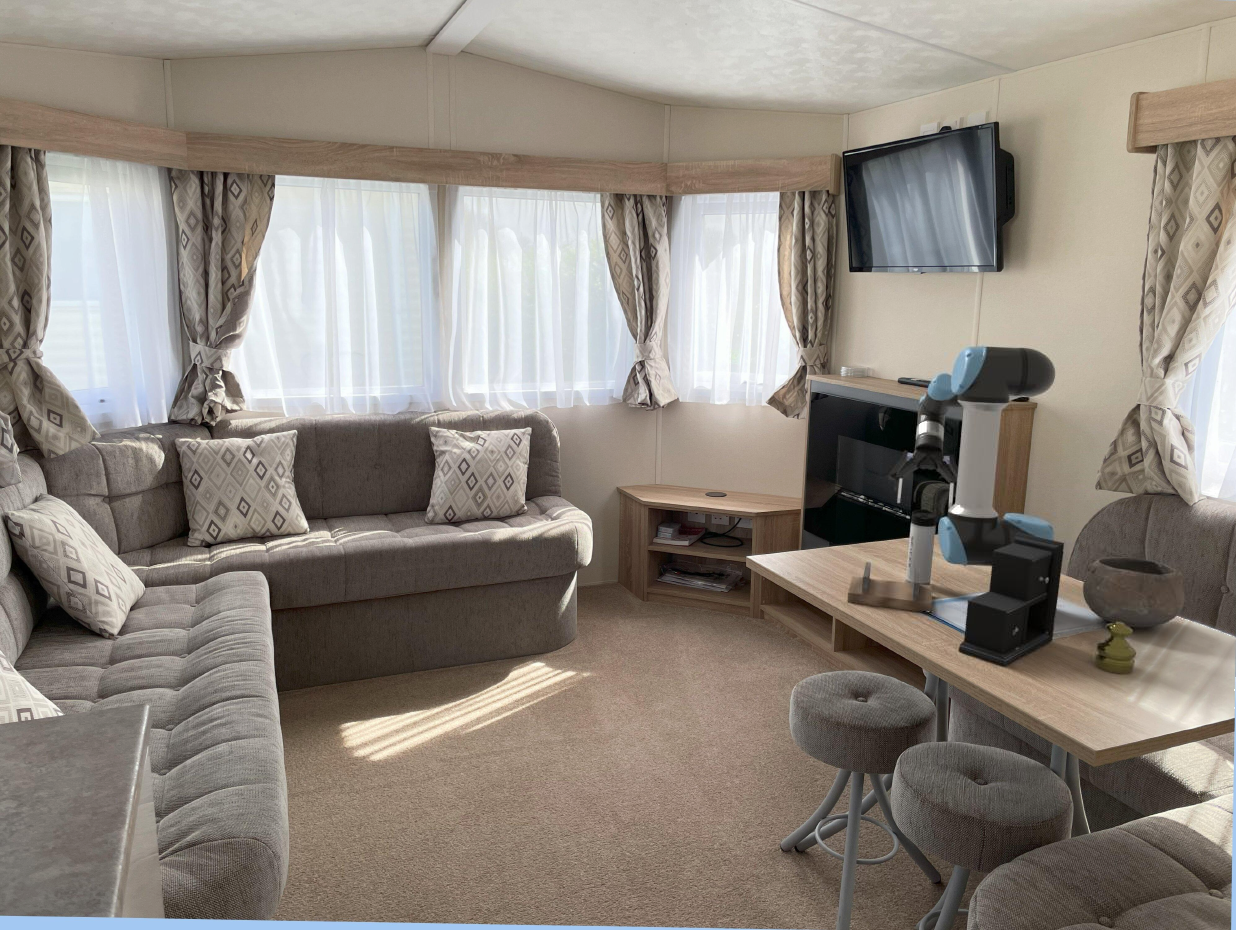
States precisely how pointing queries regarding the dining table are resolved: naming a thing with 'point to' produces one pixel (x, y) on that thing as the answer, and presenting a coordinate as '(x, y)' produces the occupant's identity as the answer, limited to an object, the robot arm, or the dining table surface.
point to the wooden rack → (890, 592)
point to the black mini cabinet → (1016, 602)
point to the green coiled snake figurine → (1116, 650)
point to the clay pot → (1133, 591)
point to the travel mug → (921, 545)
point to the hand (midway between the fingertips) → (924, 502)
